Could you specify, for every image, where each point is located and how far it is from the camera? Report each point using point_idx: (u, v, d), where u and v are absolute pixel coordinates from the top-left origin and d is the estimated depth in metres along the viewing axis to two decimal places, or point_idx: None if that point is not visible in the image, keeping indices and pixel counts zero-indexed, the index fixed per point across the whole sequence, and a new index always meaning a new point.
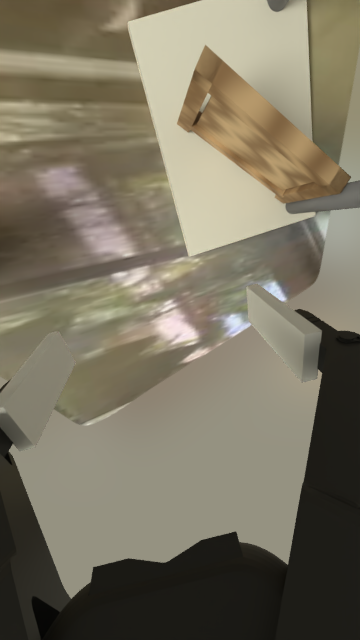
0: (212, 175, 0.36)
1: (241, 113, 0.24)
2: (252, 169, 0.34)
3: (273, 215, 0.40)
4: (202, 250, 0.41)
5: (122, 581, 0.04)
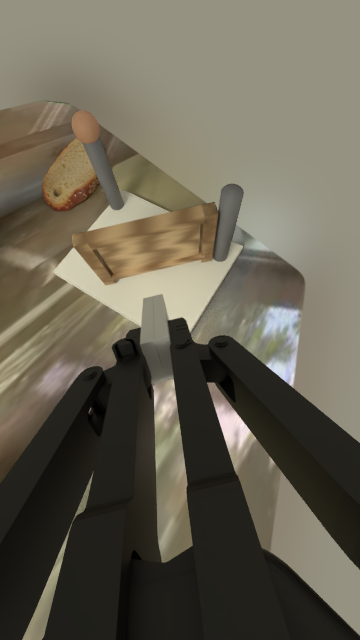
0: (149, 288, 0.44)
1: (115, 239, 0.33)
2: (167, 262, 0.42)
3: (213, 271, 0.44)
4: None
5: (122, 581, 0.04)
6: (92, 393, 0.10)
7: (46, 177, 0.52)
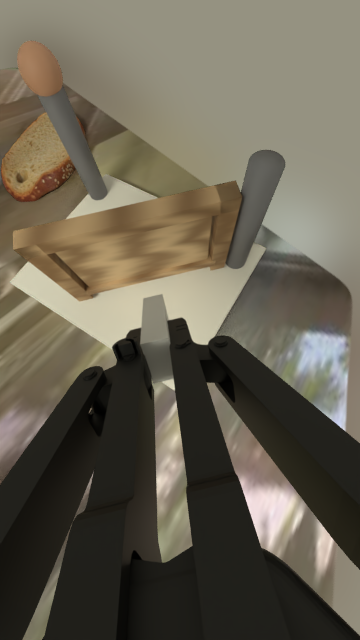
0: (139, 306, 0.32)
1: (82, 238, 0.21)
2: (163, 270, 0.30)
3: (226, 282, 0.32)
4: None
5: (122, 581, 0.04)
6: (92, 393, 0.10)
7: (6, 157, 0.40)
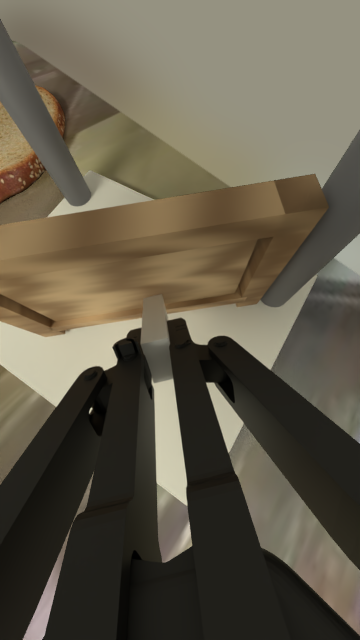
0: None
1: (14, 266, 0.11)
2: (167, 305, 0.20)
3: (262, 328, 0.22)
4: None
5: (122, 581, 0.04)
6: (93, 393, 0.10)
7: None
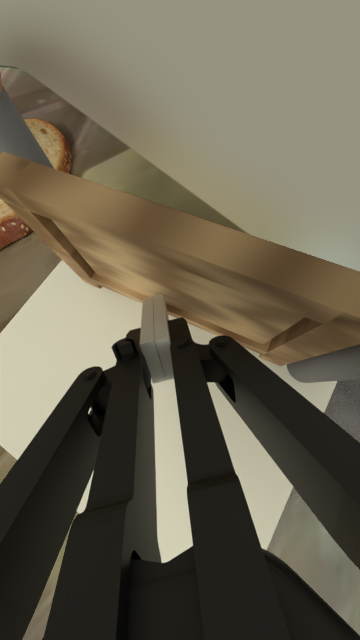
0: None
1: (76, 220, 0.12)
2: (195, 318, 0.20)
3: None
4: None
5: (122, 581, 0.04)
6: (92, 393, 0.10)
7: None
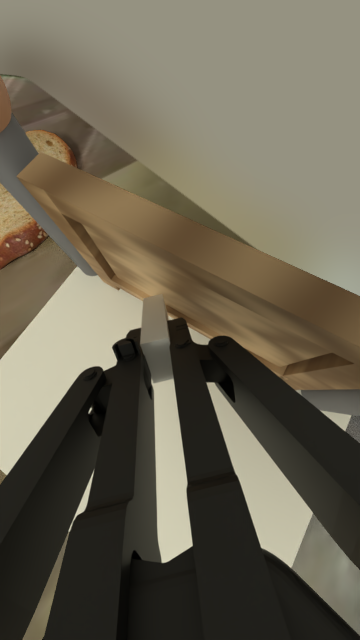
0: (160, 480, 0.19)
1: (108, 228, 0.12)
2: (211, 332, 0.19)
3: None
4: None
5: (122, 581, 0.04)
6: (92, 393, 0.10)
7: None
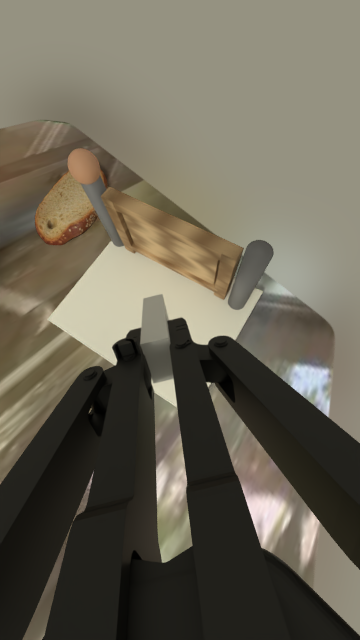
0: None
1: (136, 216, 0.31)
2: (182, 270, 0.39)
3: (229, 321, 0.39)
4: None
5: (122, 581, 0.04)
6: (92, 393, 0.10)
7: (40, 207, 0.47)
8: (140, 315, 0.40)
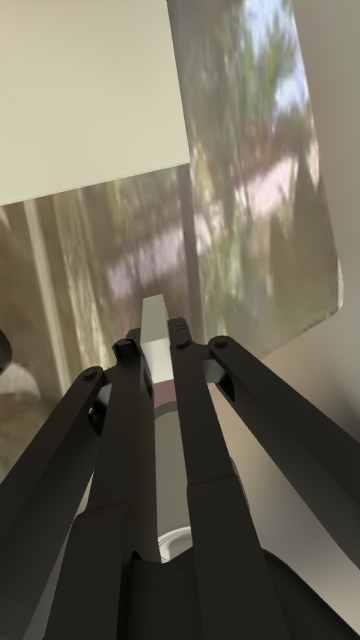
0: (104, 120, 0.32)
1: None
2: None
3: (147, 6, 0.28)
4: (185, 142, 0.34)
5: (122, 581, 0.04)
6: (92, 393, 0.10)
7: None
8: (61, 106, 0.31)
